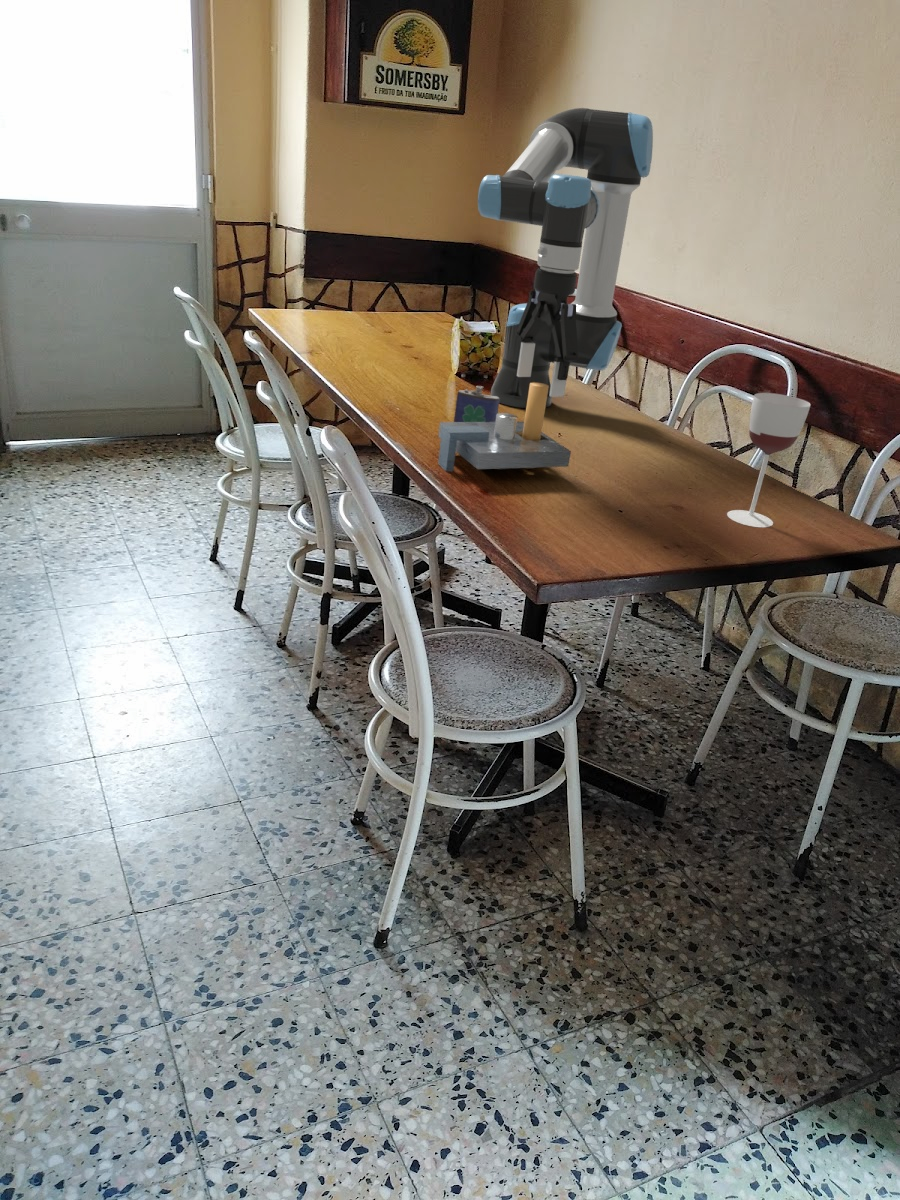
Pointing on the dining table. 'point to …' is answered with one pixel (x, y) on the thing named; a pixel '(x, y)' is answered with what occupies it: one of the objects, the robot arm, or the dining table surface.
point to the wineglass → (771, 440)
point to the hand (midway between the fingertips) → (539, 386)
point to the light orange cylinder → (535, 411)
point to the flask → (476, 406)
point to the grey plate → (498, 445)
